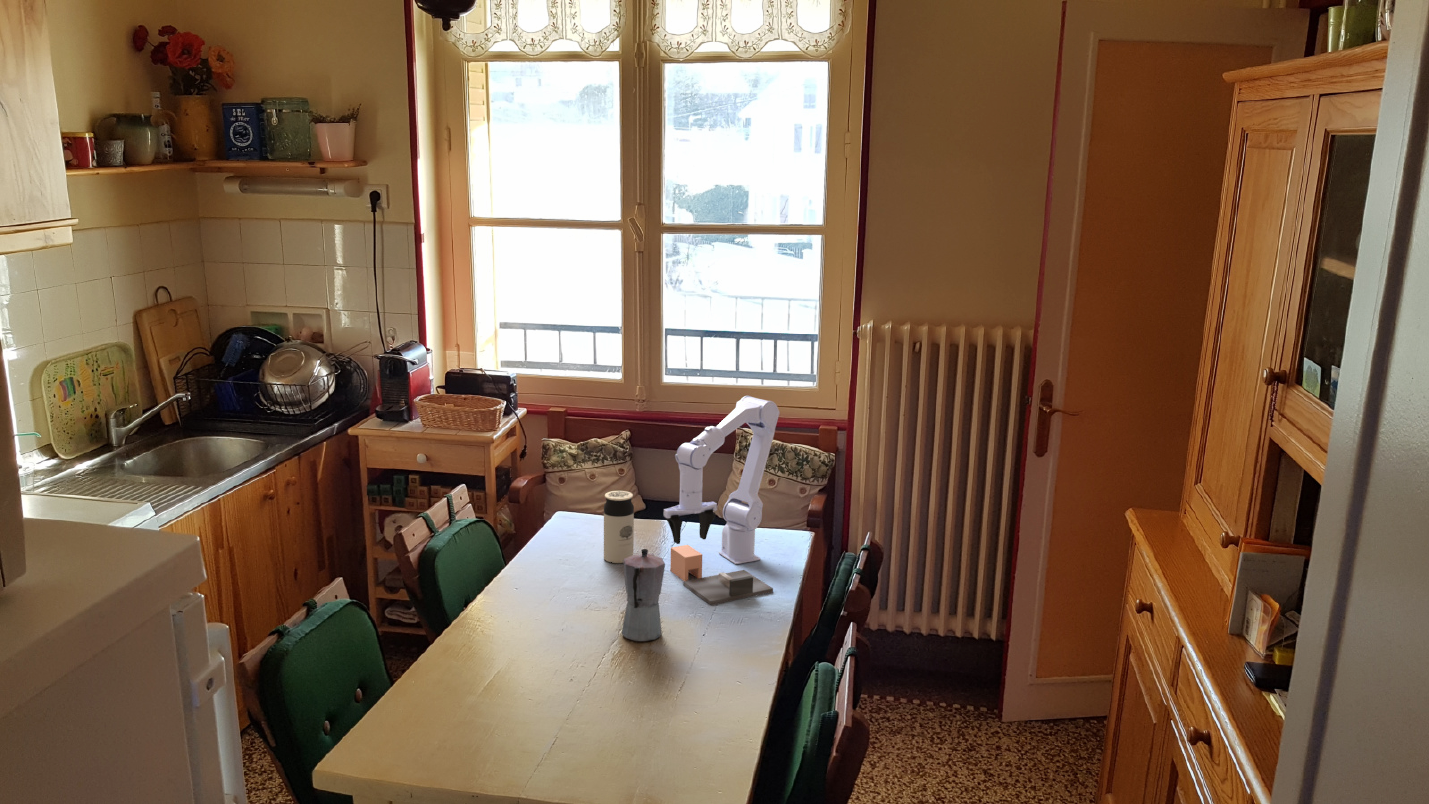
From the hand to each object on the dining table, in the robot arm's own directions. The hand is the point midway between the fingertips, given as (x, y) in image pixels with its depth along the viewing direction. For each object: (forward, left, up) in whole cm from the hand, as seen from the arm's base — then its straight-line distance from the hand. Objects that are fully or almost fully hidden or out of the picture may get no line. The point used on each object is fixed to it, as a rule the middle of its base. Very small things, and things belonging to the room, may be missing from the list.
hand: (689, 540), depth 269 cm
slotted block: (-1, 0, -10) cm, 10 cm away
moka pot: (+27, -26, -10) cm, 39 cm away
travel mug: (-19, -11, -10) cm, 24 cm away
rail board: (+12, +5, -10) cm, 16 cm away
